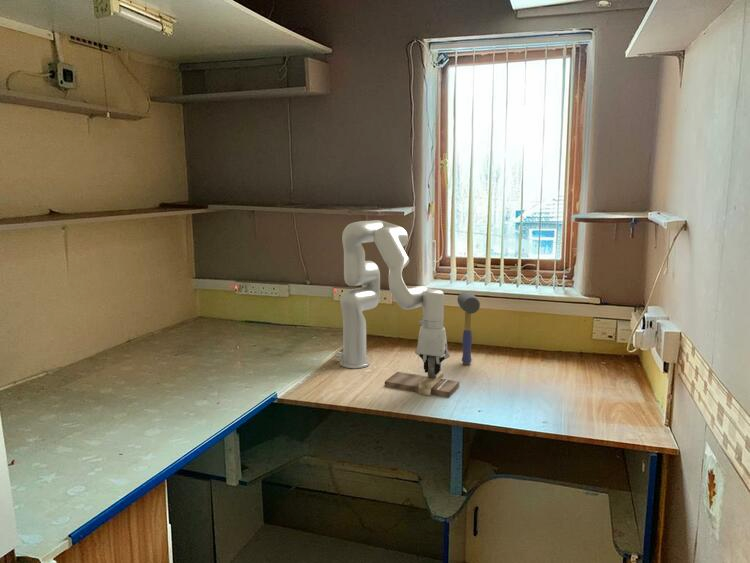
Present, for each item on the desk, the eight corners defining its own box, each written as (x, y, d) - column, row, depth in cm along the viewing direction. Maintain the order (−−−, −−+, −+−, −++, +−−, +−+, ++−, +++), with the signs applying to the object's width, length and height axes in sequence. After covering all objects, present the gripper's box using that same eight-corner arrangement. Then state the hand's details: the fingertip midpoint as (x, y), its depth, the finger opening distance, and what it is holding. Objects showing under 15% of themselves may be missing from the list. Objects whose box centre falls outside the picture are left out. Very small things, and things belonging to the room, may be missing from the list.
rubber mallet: (479, 368, 233) (481, 296, 227) (460, 369, 232) (462, 296, 227) (471, 359, 245) (474, 290, 240) (454, 359, 245) (456, 290, 239)
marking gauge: (418, 393, 205) (419, 361, 203) (433, 380, 218) (433, 350, 216) (429, 395, 203) (429, 363, 201) (443, 382, 217) (443, 351, 214)
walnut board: (384, 386, 213) (384, 381, 212) (397, 376, 224) (397, 371, 223) (449, 397, 202) (449, 391, 202) (459, 386, 213) (459, 381, 213)
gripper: (407, 323, 207) (407, 372, 210) (451, 328, 200) (450, 379, 203) (415, 319, 214) (414, 366, 217) (458, 324, 207) (456, 372, 210)
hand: (432, 372), depth 210 cm, fingers closed on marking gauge, 3 cm apart
